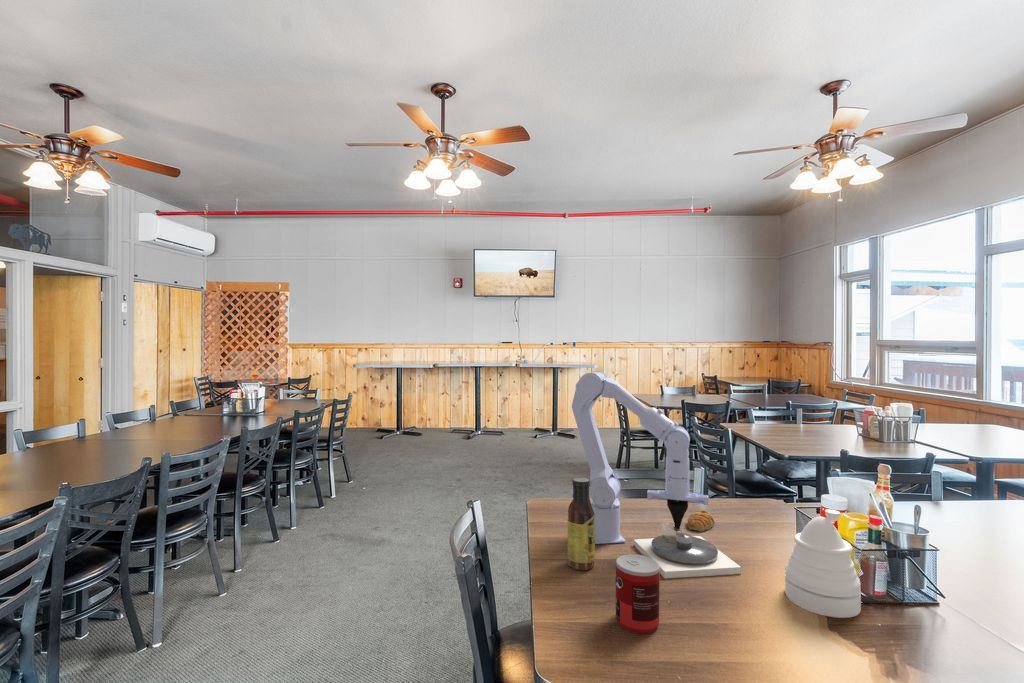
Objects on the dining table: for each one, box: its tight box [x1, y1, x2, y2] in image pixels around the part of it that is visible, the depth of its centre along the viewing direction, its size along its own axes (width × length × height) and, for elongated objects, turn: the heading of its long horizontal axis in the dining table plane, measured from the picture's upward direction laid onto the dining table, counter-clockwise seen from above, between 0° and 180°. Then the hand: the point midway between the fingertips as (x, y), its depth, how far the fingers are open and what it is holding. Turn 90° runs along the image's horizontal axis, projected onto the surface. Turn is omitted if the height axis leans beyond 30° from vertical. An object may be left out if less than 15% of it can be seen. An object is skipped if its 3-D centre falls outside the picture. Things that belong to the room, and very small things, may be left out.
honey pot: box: [784, 508, 862, 619], centre depth 99 cm, size 13×13×18 cm
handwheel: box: [651, 522, 719, 565], centre depth 118 cm, size 15×15×4 cm
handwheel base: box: [633, 535, 742, 579], centre depth 118 cm, size 18×18×2 cm
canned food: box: [615, 553, 661, 635], centre depth 91 cm, size 8×8×11 cm
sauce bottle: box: [567, 477, 596, 571], centre depth 114 cm, size 7×6×20 cm
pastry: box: [687, 509, 716, 532], centre depth 139 cm, size 9×7×4 cm
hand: (677, 530), depth 124 cm, fingers closed
